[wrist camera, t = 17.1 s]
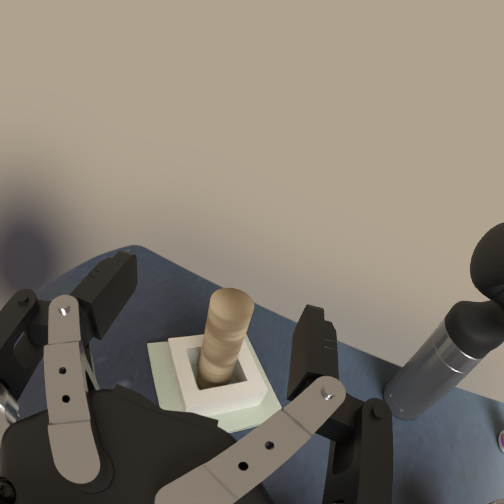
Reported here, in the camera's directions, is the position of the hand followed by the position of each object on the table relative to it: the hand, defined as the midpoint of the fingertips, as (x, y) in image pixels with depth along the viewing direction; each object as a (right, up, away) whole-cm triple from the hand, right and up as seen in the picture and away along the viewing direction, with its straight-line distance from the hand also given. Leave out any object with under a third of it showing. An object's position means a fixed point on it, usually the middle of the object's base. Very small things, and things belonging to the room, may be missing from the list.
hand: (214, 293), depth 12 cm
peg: (-4, -16, +24) cm, 29 cm away
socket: (-4, -17, +25) cm, 30 cm away
